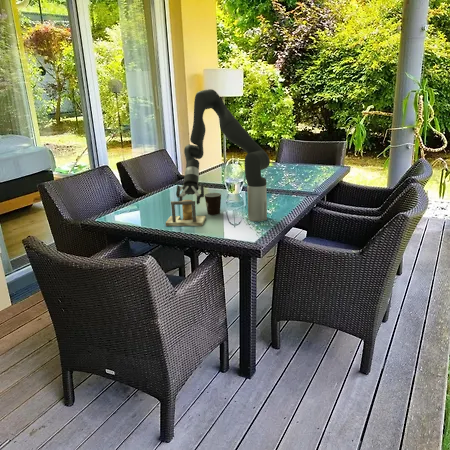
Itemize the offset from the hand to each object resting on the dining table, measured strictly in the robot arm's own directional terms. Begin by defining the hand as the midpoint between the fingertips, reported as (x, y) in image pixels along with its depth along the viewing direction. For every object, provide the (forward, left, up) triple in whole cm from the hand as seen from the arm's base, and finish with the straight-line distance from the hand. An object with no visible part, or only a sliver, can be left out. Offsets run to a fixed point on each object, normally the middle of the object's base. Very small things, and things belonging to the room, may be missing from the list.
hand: (189, 203), depth 226 cm
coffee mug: (-12, -2, -7) cm, 14 cm away
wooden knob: (0, +8, -6) cm, 10 cm away
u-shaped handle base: (0, +11, -6) cm, 12 cm away
